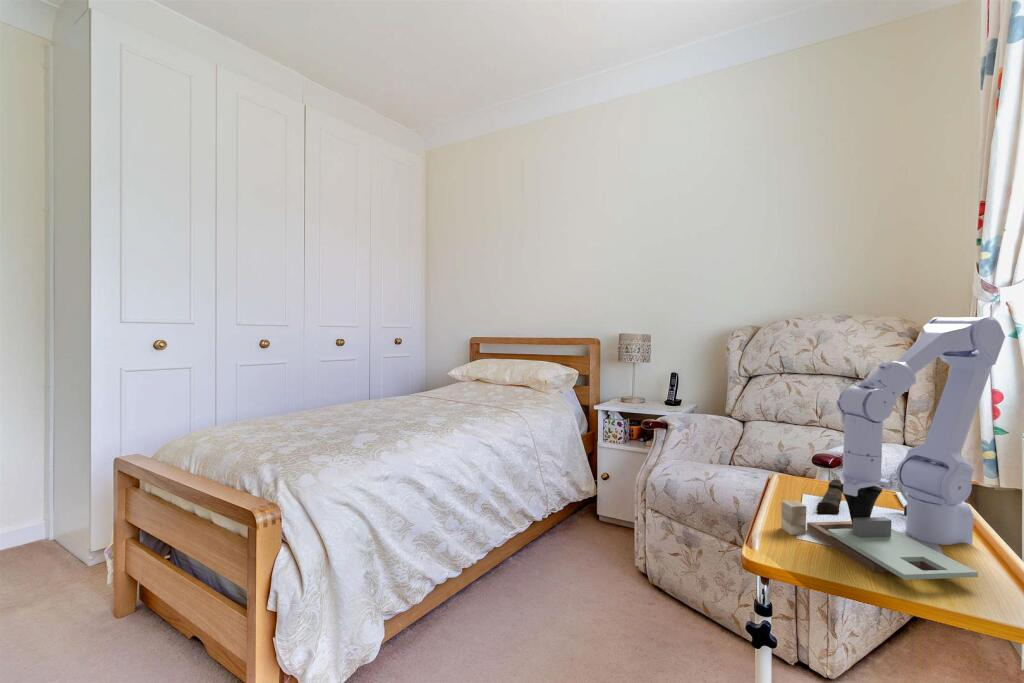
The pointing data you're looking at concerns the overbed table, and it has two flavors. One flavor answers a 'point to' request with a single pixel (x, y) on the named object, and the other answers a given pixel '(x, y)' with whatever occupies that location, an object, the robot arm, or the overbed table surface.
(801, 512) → the block
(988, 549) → the overbed table surface
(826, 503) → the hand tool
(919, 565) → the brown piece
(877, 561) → the lid
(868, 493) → the robot arm
